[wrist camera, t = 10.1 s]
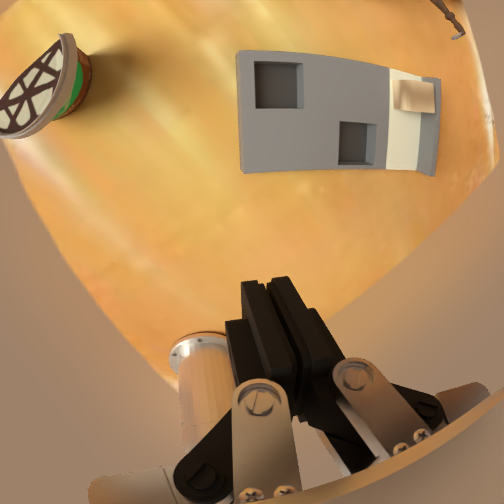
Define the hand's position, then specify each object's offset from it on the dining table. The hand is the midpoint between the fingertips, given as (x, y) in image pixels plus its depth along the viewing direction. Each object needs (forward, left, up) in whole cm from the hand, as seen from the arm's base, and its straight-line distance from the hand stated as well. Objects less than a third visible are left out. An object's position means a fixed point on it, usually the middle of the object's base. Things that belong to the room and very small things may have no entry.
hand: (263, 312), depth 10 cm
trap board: (+6, -16, -25) cm, 31 cm away
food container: (+11, +17, -26) cm, 33 cm away
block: (+10, -25, -23) cm, 35 cm away
